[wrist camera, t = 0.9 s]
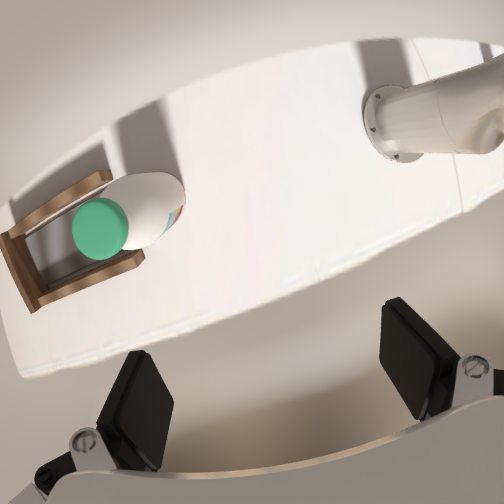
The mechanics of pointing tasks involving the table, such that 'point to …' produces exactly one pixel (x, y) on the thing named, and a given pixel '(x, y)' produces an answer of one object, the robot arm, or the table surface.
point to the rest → (57, 250)
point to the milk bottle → (128, 214)
